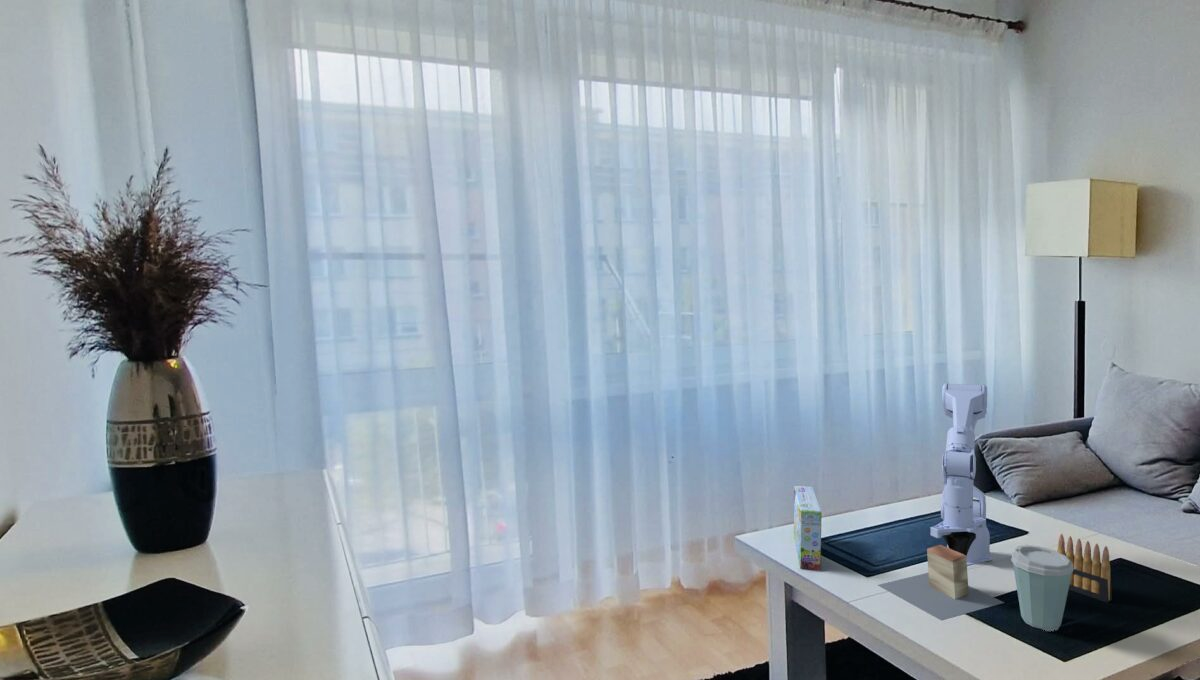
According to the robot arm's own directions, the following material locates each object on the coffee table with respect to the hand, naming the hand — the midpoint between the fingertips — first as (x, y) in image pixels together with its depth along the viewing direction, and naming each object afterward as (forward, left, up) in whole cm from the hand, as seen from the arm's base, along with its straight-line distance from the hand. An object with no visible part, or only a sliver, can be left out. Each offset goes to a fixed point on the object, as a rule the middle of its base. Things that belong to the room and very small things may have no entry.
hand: (958, 562), depth 152 cm
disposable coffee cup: (-2, +18, -7) cm, 19 cm away
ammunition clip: (-23, +12, -7) cm, 27 cm away
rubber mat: (+6, 0, -6) cm, 9 cm away
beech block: (+3, 0, -6) cm, 6 cm away
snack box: (+17, -32, -7) cm, 37 cm away
